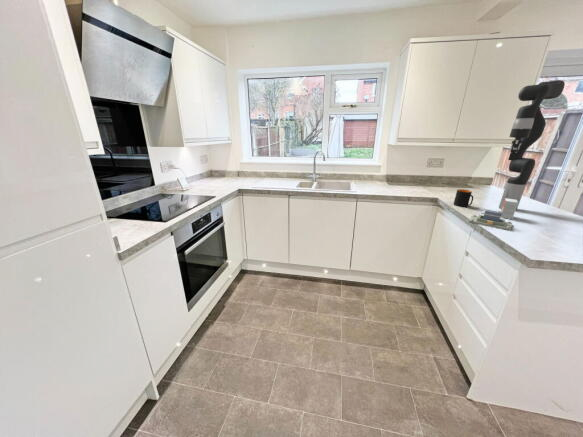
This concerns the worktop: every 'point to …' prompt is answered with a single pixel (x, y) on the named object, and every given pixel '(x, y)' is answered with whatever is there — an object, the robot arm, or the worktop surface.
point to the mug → (463, 198)
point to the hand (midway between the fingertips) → (511, 159)
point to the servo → (492, 215)
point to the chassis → (491, 222)
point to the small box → (509, 208)
